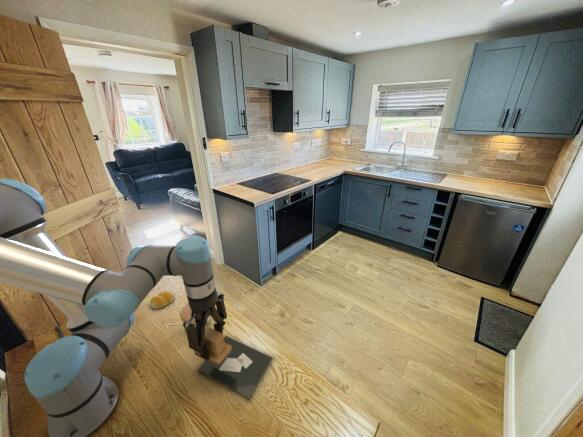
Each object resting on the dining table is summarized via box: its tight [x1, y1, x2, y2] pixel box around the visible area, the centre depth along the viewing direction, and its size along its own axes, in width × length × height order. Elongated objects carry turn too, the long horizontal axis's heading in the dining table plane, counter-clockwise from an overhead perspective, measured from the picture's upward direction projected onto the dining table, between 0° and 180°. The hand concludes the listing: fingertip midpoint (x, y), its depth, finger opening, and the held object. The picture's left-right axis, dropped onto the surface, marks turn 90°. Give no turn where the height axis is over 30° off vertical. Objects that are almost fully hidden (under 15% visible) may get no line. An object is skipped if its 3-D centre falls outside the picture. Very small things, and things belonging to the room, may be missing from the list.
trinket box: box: [179, 303, 211, 328], centre depth 93 cm, size 11×11×9 cm
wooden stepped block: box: [193, 325, 232, 368], centre depth 73 cm, size 10×6×8 cm, turn 65°
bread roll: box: [149, 290, 174, 310], centre depth 104 cm, size 8×9×4 cm
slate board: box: [197, 335, 273, 400], centre depth 79 cm, size 20×14×1 cm
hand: (212, 348), depth 74 cm, fingers closed on wooden stepped block, 6 cm apart
